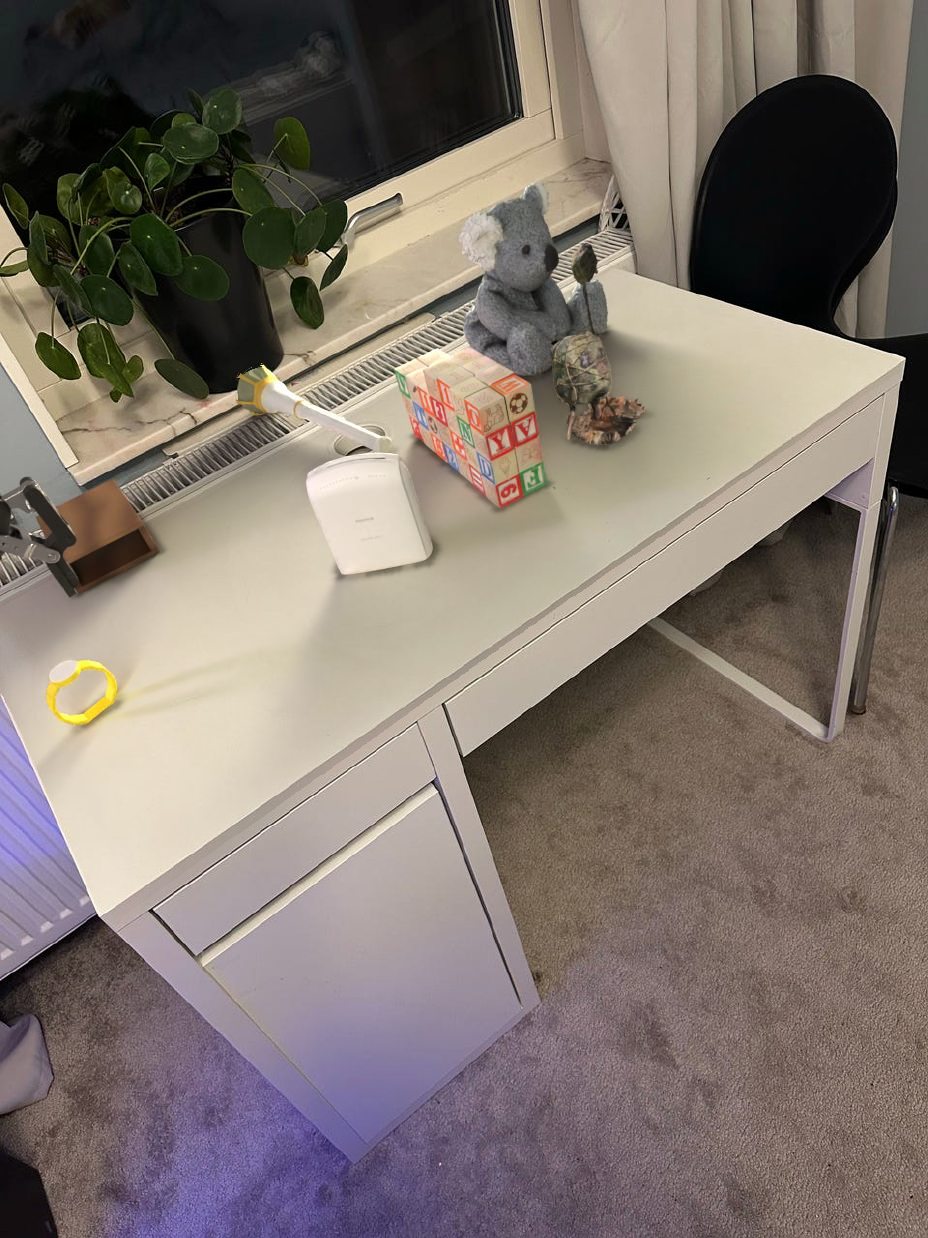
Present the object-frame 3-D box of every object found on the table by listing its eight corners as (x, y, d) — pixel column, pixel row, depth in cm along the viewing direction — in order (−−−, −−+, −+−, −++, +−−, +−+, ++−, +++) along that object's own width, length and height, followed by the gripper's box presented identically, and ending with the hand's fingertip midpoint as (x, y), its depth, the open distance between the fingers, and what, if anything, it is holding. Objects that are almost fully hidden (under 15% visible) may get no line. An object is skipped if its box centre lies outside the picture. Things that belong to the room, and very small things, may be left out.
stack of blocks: (412, 436, 105) (385, 343, 97) (455, 415, 106) (432, 322, 98) (500, 509, 90) (477, 407, 81) (549, 484, 91) (531, 381, 83)
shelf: (78, 594, 95) (57, 564, 92) (55, 545, 104) (35, 516, 101) (160, 551, 98) (141, 521, 95) (130, 507, 107) (113, 478, 104)
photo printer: (336, 580, 87) (295, 481, 79) (340, 554, 90) (301, 456, 82) (433, 564, 85) (401, 461, 77) (434, 538, 88) (404, 437, 80)
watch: (118, 685, 82) (87, 643, 78) (131, 697, 80) (99, 655, 76) (63, 725, 80) (28, 683, 76) (75, 738, 78) (40, 696, 74)
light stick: (357, 439, 98) (215, 374, 115) (371, 483, 102) (232, 415, 119) (400, 409, 101) (256, 351, 118) (411, 454, 105) (271, 391, 122)
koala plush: (536, 386, 107) (510, 229, 94) (440, 361, 118) (404, 217, 105) (618, 325, 115) (605, 171, 101) (520, 307, 126) (496, 166, 112)
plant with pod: (541, 438, 98) (511, 268, 85) (617, 397, 101) (599, 226, 88) (584, 464, 93) (559, 285, 79) (663, 419, 96) (652, 240, 82)
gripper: (-14, 398, 65) (92, 557, 76) (-204, 483, 61) (-63, 638, 72) (2, 430, 60) (113, 596, 71) (-204, 525, 56) (-53, 685, 67)
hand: (24, 617), depth 72 cm, fingers open, 8 cm apart
